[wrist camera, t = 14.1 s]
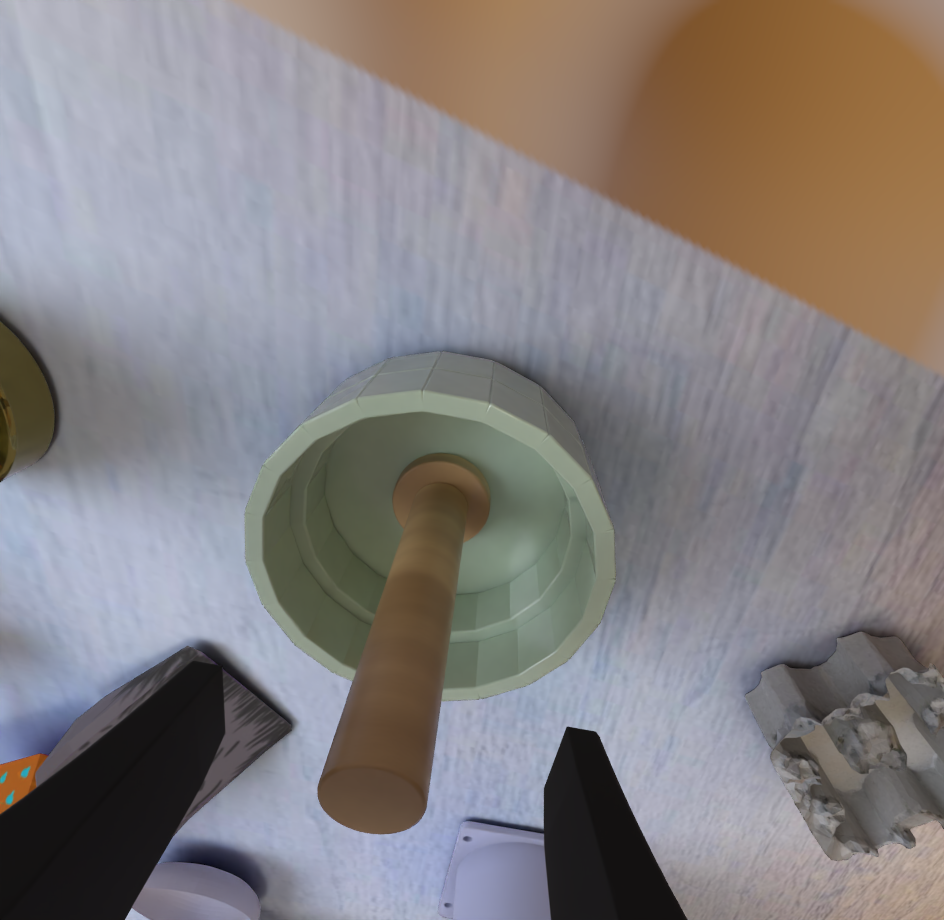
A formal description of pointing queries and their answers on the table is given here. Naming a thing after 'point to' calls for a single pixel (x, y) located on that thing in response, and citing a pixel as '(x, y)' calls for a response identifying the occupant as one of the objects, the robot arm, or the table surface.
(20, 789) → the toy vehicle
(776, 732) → the egg carton
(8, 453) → the brass candlestick
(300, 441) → the bowl
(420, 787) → the wooden pestle
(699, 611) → the table surface
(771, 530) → the table surface
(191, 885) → the shallow white dish
